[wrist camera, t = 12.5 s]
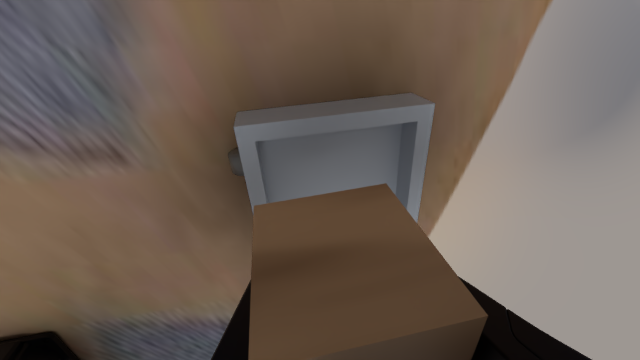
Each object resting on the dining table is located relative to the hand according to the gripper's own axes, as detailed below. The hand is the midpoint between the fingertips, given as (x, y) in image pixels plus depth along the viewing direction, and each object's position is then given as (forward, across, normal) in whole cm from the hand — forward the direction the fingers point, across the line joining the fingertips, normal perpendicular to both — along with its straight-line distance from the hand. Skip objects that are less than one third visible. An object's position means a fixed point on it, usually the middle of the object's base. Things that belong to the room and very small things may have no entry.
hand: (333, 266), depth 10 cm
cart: (+12, -2, +8) cm, 14 cm away
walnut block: (+1, 0, 0) cm, 1 cm away
